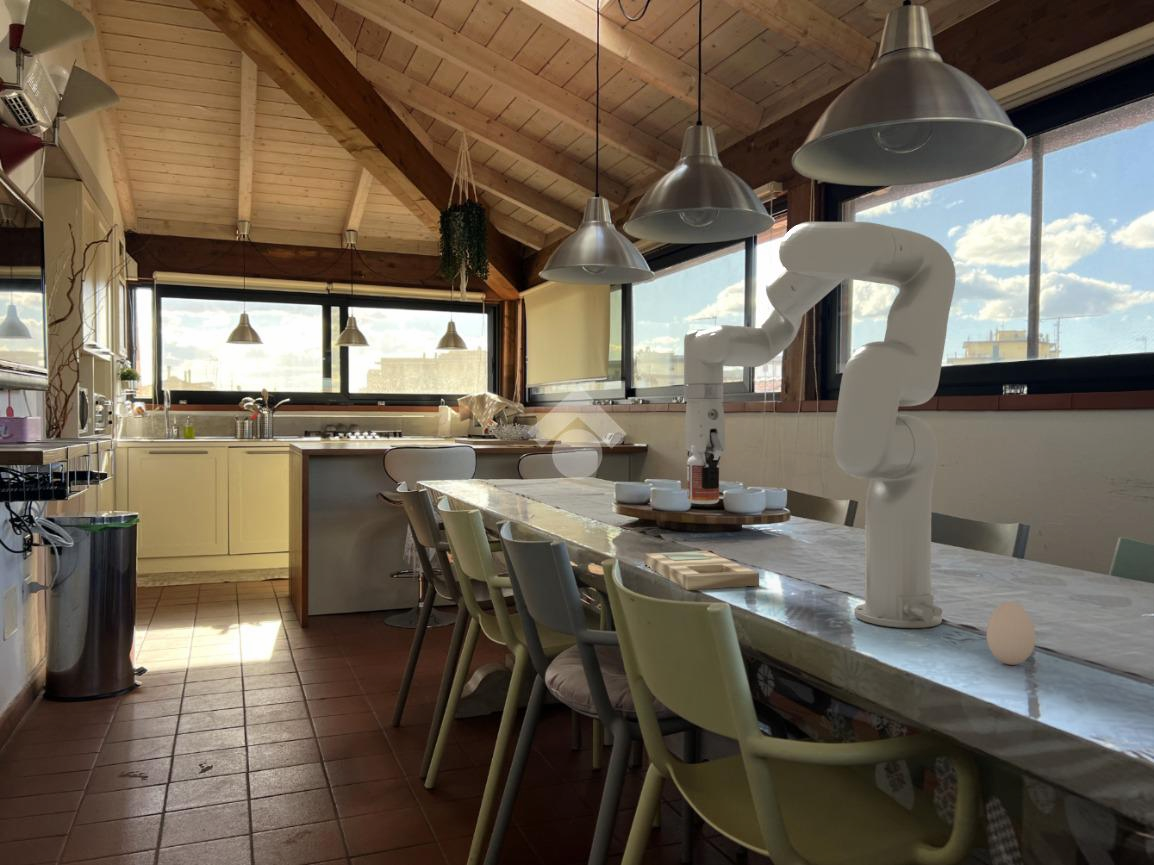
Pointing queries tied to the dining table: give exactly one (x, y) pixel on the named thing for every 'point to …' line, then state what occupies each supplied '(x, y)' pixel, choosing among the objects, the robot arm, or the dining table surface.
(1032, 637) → the egg
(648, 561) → the pocket board
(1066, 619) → the dining table surface
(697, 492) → the pill bottle
